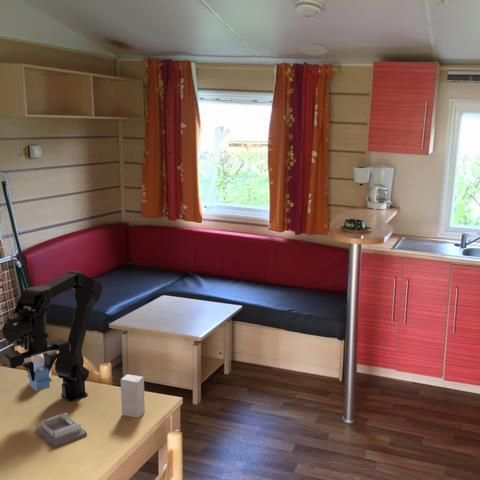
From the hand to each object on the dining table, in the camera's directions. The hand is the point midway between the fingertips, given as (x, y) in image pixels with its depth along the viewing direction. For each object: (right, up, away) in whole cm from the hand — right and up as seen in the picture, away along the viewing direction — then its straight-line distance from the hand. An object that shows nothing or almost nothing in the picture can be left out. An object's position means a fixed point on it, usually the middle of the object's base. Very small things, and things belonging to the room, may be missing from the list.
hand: (39, 378), depth 180 cm
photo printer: (-8, -7, +27) cm, 28 cm away
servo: (0, -3, +1) cm, 3 cm away
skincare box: (+28, -12, +5) cm, 31 cm away
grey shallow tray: (+9, -14, -7) cm, 18 cm away
